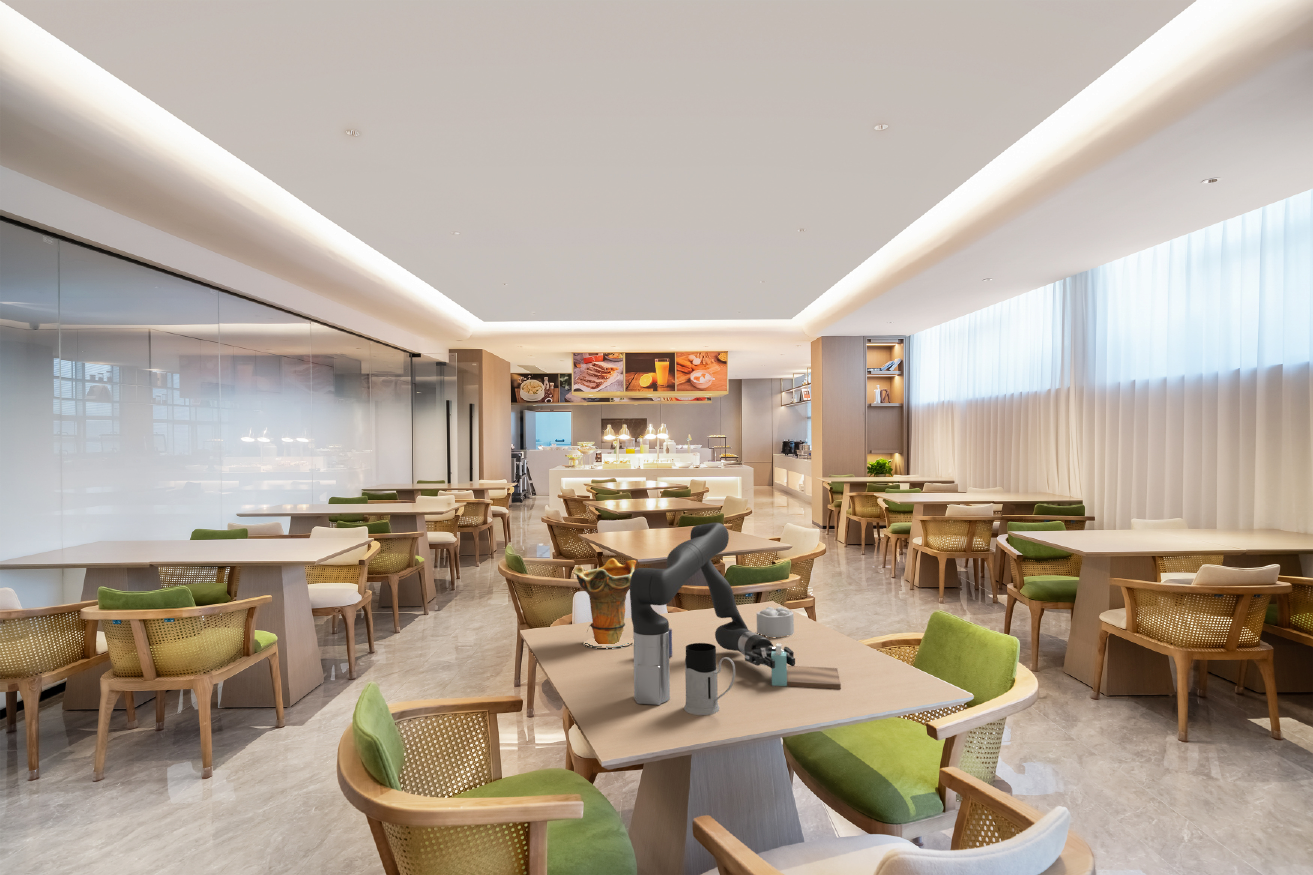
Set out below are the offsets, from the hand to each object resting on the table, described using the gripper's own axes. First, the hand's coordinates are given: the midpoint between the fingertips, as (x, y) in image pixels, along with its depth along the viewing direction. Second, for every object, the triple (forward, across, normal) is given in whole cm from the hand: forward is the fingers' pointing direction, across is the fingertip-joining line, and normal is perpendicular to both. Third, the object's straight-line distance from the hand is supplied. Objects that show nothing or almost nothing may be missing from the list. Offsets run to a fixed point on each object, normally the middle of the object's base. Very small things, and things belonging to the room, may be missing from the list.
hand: (783, 663), depth 177 cm
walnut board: (-2, +10, +6) cm, 12 cm away
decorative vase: (-60, -34, +6) cm, 69 cm away
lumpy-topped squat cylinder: (-49, +25, +6) cm, 56 cm away
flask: (-38, -23, +6) cm, 45 cm away
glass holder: (+9, -25, +6) cm, 28 cm away
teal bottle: (-3, 0, +6) cm, 7 cm away
